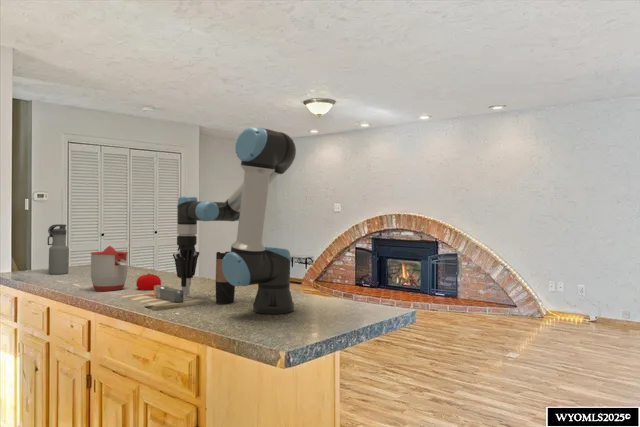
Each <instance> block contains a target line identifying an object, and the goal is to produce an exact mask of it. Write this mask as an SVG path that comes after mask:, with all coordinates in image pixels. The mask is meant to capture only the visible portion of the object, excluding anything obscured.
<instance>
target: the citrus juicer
mask: <svg viewBox="0 0 640 427" xmlns="http://www.w3.org/2000/svg"><path fill="white" fill-rule="evenodd" d="M128 254H129V252H128V251H119V250H117V251H116V249H115V248H114V247H113V246H111V245H108V246H107V247H106V248H105V249H104V250H102V251H93V252H92V251H91V252H90V278H91V282H92V286H93V290H95V291H98V292H99V291H100V292H102V291H103V292H107V293H108V292H111V291H119V290H120V289H121V290H122V289H124V287H125V285H126V280H127V276H128V257H129V256H128Z"/></svg>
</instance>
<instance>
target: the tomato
mask: <svg viewBox="0 0 640 427" xmlns="http://www.w3.org/2000/svg"><path fill="white" fill-rule="evenodd" d="M154 285H161V286H162V281H161V277H160V276H159V275H157V274H154V273H150V272H149V273H148V274H142V275H140V276H138V277H137V279H136V284H135V286H136V287H137V289H138V290H139V291H146V292H151V291H154Z"/></svg>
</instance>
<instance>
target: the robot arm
mask: <svg viewBox="0 0 640 427" xmlns="http://www.w3.org/2000/svg"><path fill="white" fill-rule="evenodd" d="M234 149H235V153H236V156H237V158H238V160H240V167H241V168H242V170H243V171H244V174H243V182H242V183H241V185H240V186H238V188H237V189H236V190H235V191H234V192H233V193H232V194H231V195H230V196H229V197H228V199H226V200H225V201H210V200H203V201H198V197H196V196H179V197H178V199H177V205H176V206H177V209H176V210H177V217H176V218H177V228H176V229H177V230H176V233H177V236H176V245H177V247H178V248H177V251H176V253H172V256H173V257H172V258H173V259H174V265H175V269H176V270H175V271H176V277H177V278H179V279H181V280H180V281H181V282H180V284H181V285H180V287H181V290H182V291H184V296H189V295H191V293H190V292H191V291H190V290H191V281H192V280H191V279H193V277H194V276H195V274H196V269H197V263H198V258H199V255H200V252H199V251H197V250H196V245H197V242H198V241H197V240H198V239H197V238H198V236H197V233H198V221H199V222H238V223H237V224H238V226H237V234H236V235H237V236H236V241H235V242H233V243H232V244H231V247H230V251H228V252H229V253H227V254H226V255H225V256H224V258H223V260H222V271H223V274H224V276H225V278H226V280H227V281H228V282H229V283H230V284H231V285H233V286H235V287H247V286H252V285H257V291H256V295H255V298H254V302H253V304H252V311H253V312H255V313H259V314H267V315H275V314H276V315H279V314H280V315H281V314H288V313H292V312H294V310H295V302H293V296H292V293H291V290H290V289H291V288H290V284H291V262H292V260H291V252H290V250H289V249H286V248H280V247H279V248H278V247H273V246H272V247H271V246H270V247H269V246H264V245H263V243H262V242H263V233H264V228H265V226H264V225H265V218H266V211H267V210H266V209H267V200H268V192H269V187H270V186H269V185H270V184H271V183H272V181H274V180H275V179H276V178H277V177H278V176H279V175H283V174H284V173H285V172H287V170H289V169H290V167H291V166H292V165H293V163H294V160H295V159H296V154H297V149H296V144H295V142H294V140H293V139H292V137H291V136H290V135H288V134H287V133H284V132H282V131H276V130H273V129H269V128H264V127H261V126H249V127H247V128H244V130H242V132H240V134H239V135H238V137H237V139H236V143H235V148H234Z"/></svg>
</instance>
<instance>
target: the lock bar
mask: <svg viewBox="0 0 640 427" xmlns="http://www.w3.org/2000/svg"><path fill="white" fill-rule="evenodd" d="M184 297H185V295H184V291H182V289H177V288H173V287H169V286H167V285H166V286H165V285H161V286H158V287H156V298H158V299H164V300H167V301H171V302H176V303H180V302H183V299H184Z"/></svg>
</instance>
